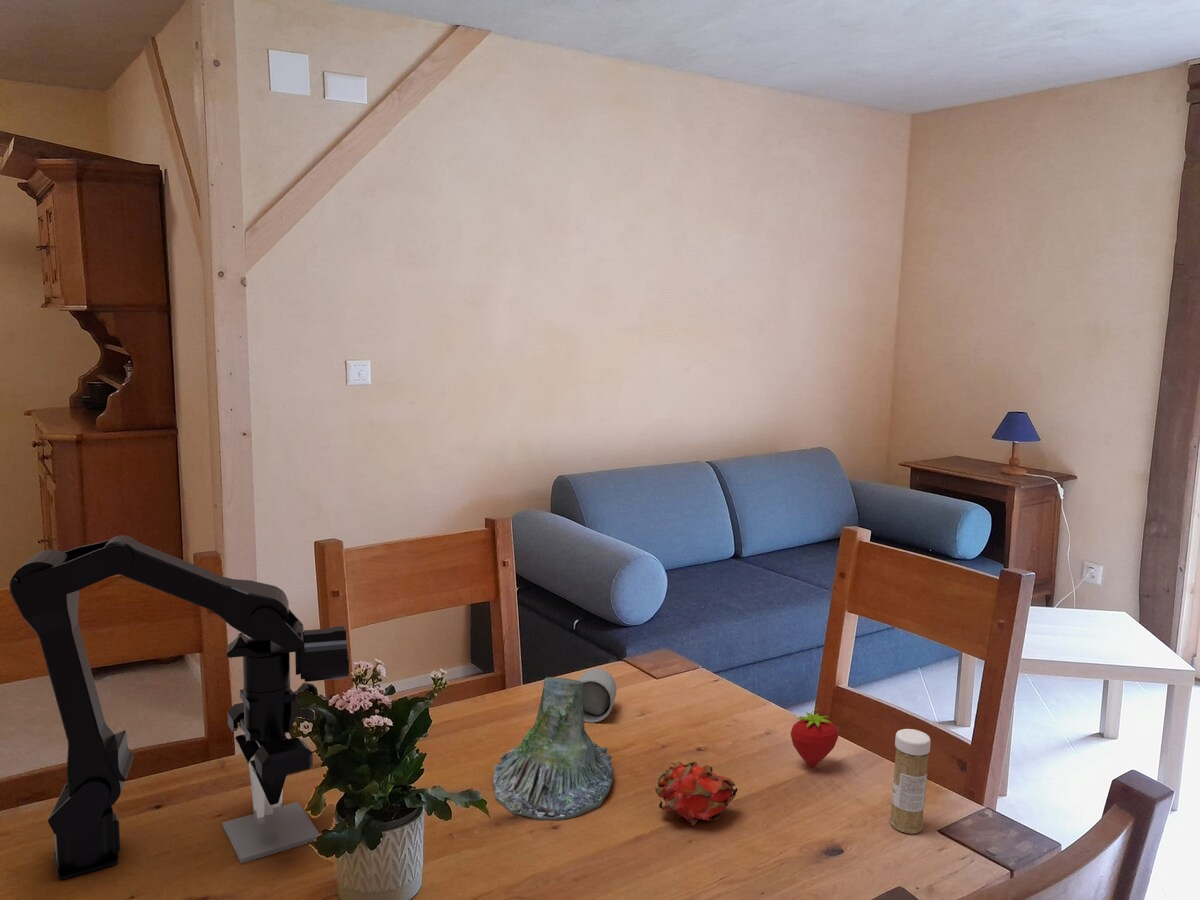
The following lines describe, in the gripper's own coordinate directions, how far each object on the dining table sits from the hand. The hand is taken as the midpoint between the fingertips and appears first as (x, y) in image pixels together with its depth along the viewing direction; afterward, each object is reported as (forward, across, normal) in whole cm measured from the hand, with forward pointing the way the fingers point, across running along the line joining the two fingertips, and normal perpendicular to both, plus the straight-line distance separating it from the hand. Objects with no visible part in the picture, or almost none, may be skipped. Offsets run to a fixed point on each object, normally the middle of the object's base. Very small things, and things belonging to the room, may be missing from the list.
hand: (269, 796), depth 120 cm
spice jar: (+5, -45, -74) cm, 87 cm away
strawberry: (+5, -26, -76) cm, 81 cm away
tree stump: (+5, -8, -39) cm, 40 cm away
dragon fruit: (+5, -27, -51) cm, 58 cm away
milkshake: (+3, 0, 0) cm, 3 cm away
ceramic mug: (+5, +9, -57) cm, 58 cm away
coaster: (+5, 0, 0) cm, 5 cm away
